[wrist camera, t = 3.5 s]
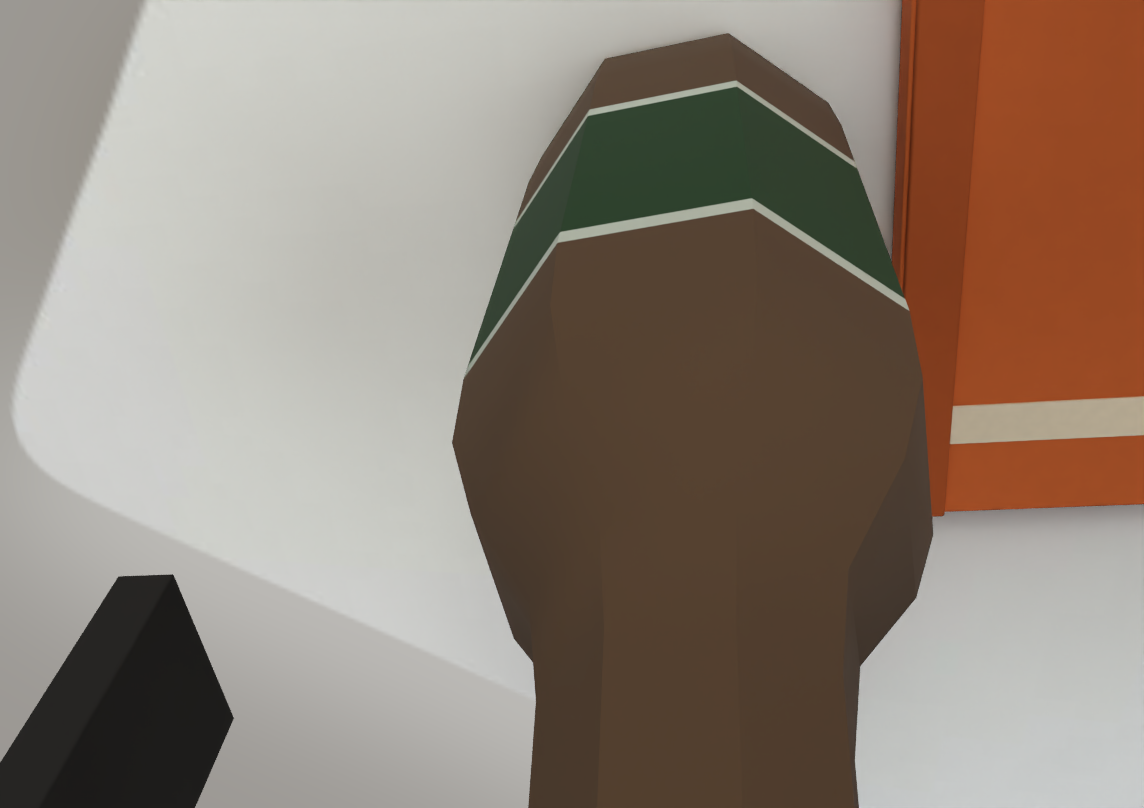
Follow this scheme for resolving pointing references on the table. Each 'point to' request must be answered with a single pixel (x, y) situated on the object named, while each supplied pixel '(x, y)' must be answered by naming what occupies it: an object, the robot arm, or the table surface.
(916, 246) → the towel
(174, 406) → the table surface
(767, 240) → the beer bottle
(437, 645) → the table surface
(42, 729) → the robot arm
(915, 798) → the table surface
